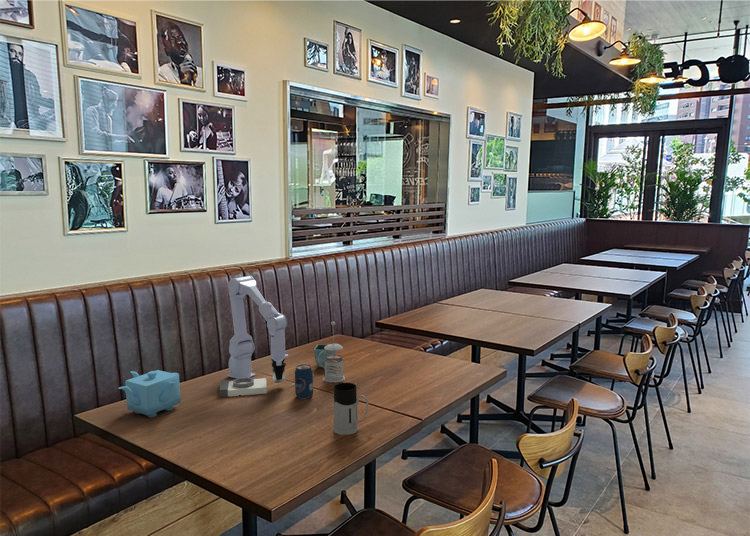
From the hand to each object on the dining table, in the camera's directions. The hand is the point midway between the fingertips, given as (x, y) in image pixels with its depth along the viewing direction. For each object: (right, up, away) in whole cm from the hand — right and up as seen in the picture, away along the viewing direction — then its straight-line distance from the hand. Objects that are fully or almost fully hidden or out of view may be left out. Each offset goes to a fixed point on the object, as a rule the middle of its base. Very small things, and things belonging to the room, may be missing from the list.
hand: (278, 377), depth 222 cm
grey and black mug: (+32, -10, -41) cm, 52 cm away
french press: (+21, -3, +11) cm, 24 cm away
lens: (0, -2, 0) cm, 2 cm away
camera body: (-14, -5, -2) cm, 15 cm away
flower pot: (+16, -1, +28) cm, 32 cm away
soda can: (+12, -6, -9) cm, 16 cm away
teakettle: (-43, -8, -23) cm, 49 cm away
